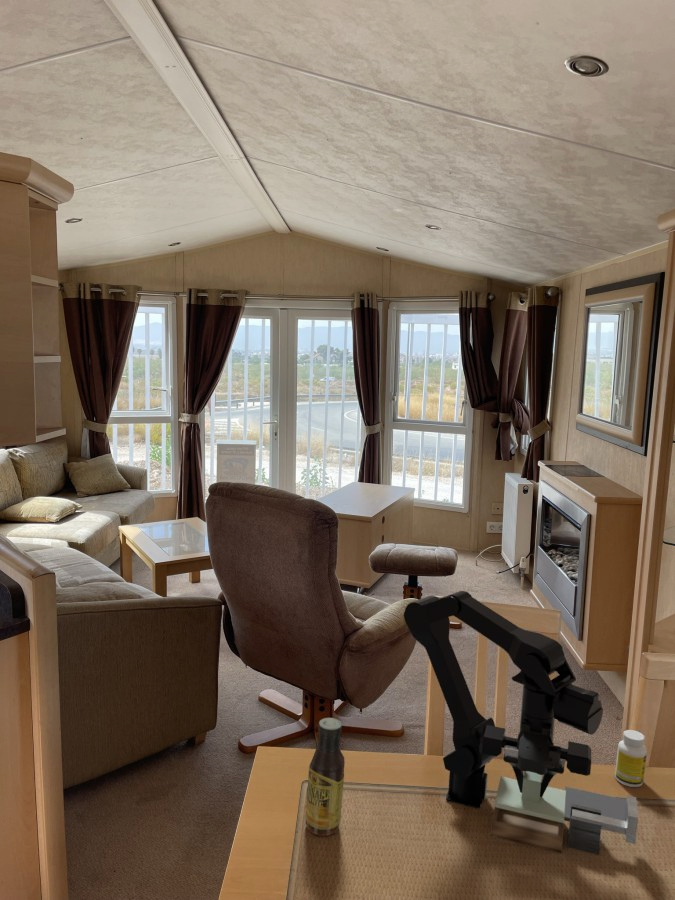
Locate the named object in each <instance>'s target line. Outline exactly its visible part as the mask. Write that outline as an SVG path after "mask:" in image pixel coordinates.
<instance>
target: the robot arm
mask: <svg viewBox="0 0 675 900" xmlns="http://www.w3.org/2000/svg"><path fill="white" fill-rule="evenodd" d="M450 617H455V618H456V619H458V620H460V621H461V622H463V623H464V624H465V625H467V626H468V627H470V628H471V629H473V630H475V631H476V632H477V633H479V634H480V635H482V636H483V637H484V638H486V639H488V640H489V641H490V642H492V643H493V644H495V645H496V646H498V648H501V649H503V651H505V652H506V653H507V654H508V655H509V658H510V659H511V661H512V663H513V664H514V665H515V666H516V667H517V668H518V670H520V671H519V672H518V673H517V674H515V675H513V676H512V677H511V681H513V682H515V683H518V684H521V685H522V698H521V699H522V700H521V708H520V721H519V731H518V735H517V738H514V737H510V736H506V728H504V727H499V726H496V724H495V720H494V719H493V718H492V717H489V718H485V717H484V716H483V715H482V714H481V713H480V712H479V711H478V709H477V706H476V704H475V701H474V698H473V696H472V694H471V691H470V689H469V687H468V684H467V681H466V678H465V677H464V673H463V671H462V668H461V666H460V664H459V661H458V658H457V656H456V653H455V652H454V648H453V646H452V643H451V640H450V627H451V626H450V624H451V622H450ZM403 620H404V623H405V624H406V626H407V629H408V630H409V632H410V634H411V636H412V638H413V639H415V640H416V641H417V642H418V643H420V645H421V646H422V647H423V648H424V649H425V651H426V654H427V656H428V659H429V661H430V664H431V667H432V669H433V672H434V675H435V677H436V679H437V683H438V685H439V687H440V690H441V692H442V695H443V698H444V700H445V703H446V705H447V708H448V711H449V713H450V715H451V718H452V722H453V726H452V738H451V739H452V743H453V747H454V750H453V751H451V752H450V753H449V754H446V755H445V756H444V757H442V761H443V765H444V769H445V770H446V771H449V775H448V776H449V777H448V788H447V789H448V791H447V793H446V797H445V800H446V801H448V802H451V803H453V804H454V803H456V804H459V805H464V806H467V807H472V808H475V809H480V808H481V807H482V803H483V802H484V801H485V799H486V797H487V788H488V778H489V777H488V775H489V774H488V773H487V772H486V765H487V764H488V763H490V762H491V761H492V760H493V759H495V758H497V757H498V756H500V755H501V754H502V752H503V751H504V753H503V758H502V759H503V762H505V763H508V764H509V765H510V766H511V767H512V770H513V772H514V774H515V775H514V776H515V778H516V779H515V780H517V783H518V786H519V790H520V793H522V788H523V777H524V771H529V772H533V773H537V774H539V775H542V779H541V789H540V797H542V796H543V794H544V792H545V790H546V788H547V787H549V784H550V783H551V781H552V780H553V778H554V776H555V775H557V774H560V775H563V774H564V772H565V764H566V769H568V771H569V772H570V773H572V774H575V775H576V774H577V775H581V776H586V777H587V776H591V771H592V770H591V769H592V748H591V747H590V745H589V744H586V743H585V744H583V743H580V742H574V741H568V742H567V748H566V746H562V745H559V744H554V733H555V732H554V730H555V722H556V721H555V720H557V722H559V723H561V724H564V725H565V726H569V727H571V728H573V729H576V730H578V731H580V732H583V733H586V734H588V735H591V736H592V735H594V734H596V732H597V730H599V728H600V725H601V722H602V718H603V713H604V708H603V705H602V702H601V700H600V699H599V693H598V692H596V691H595V690H591V689H585V688H583V687H579V686H578V685H575V684H573V683H575V682H576V681H577V679H576V676H575V674H574V672H573V670H572V668H571V667H570V664H569V663H568V661H567V659H566V657H565V653H564V650H563V649H564V648H563V646H562V645H561V643H559V642H558V641H557V640H556V639H554V638H551V637H549V636H546V635H544V634H541V633H539V632H537V631H532V630H526V629H523V628H521V627H519V626H517V625H516V624H515V623H513V622H512V621H510V620H508V619H507V618H506V617H504V616H502V615H501V614H499V613H498V612H496V611H495V610H493V609H491V608H490V607H488V606H487V605H485V604H484V603H482V602H480V601H479V600H477V599H476V598H475V597H472V594H471V593H469V592H468V591H465V590H459V591H456V592H454V593H451V594H448V595H446V596H443V597H440V598H439V597H438V596H436V595H428V596H425V597H423V598H420V599H418V600H415V601H412V602H410V603H408V604H407V605H406V607H405V609H404V612H403ZM555 672H556V673H557V674H558V675H557V676H555V677H554V678H552V679H551V677H550V676H551V675H552V674H554V673H555Z"/></svg>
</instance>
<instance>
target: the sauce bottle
mask: <svg viewBox="0 0 675 900" xmlns="http://www.w3.org/2000/svg"><path fill="white" fill-rule="evenodd" d="M317 731H318V742H317V746H316V748H315V751H314V754H313V756H312V759H311V761H310V763H309V765H308V766H309V767H308V778H307V789H306V790H307V791H306V805H305V815H304V816H305V825H306V829H307V830H308V831H309V832H310V833H311V834H313V835H316V836H319V837H320V836H321V837H327V836H331V835H333V834H335V833H337V831H339V827H340V824H341V818H342V807H343V806H342V805H343V795H344V794H343V792H344V782H345V781H344V780H345V763H346V762H345V761H346V760H345V755H344V754H343V752H342V751H341V743H340V741H341V734H342V731H343V724H342V722H341V721H340V720H339V719H336V718H334V717H324V718H322V719H320V720H319V721H318V728H317Z"/></svg>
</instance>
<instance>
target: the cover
mask: <svg viewBox="0 0 675 900" xmlns="http://www.w3.org/2000/svg"><path fill="white" fill-rule="evenodd" d="M542 777H543V775H539V774H537V773H533V772H529V771H524V777H523V788H522V793H520V790H519V786H518V783H517V779H515V778H510V777H505V776H500V778H499V782H498V787H497V793H496V795H495V801H494V808H495V807H497V808H501V809H505V810H510V811H514V812H518V813H523V814H527V815H531V816H535V817H540V818H544V819H548V820H552V821H557V822H561V823H564V824H565V819H564V813H565V796H566V791H565V789H561V788H556V787H552V786H547V788H546V790H545V792H544V794H543V796H542V797H540V789H541V782H542Z"/></svg>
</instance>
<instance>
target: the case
mask: <svg viewBox="0 0 675 900" xmlns="http://www.w3.org/2000/svg"><path fill="white" fill-rule="evenodd" d="M490 824H491V825H490V826H491V827H490V837H494V838H498V839H502V840H506V841H509V842H510V841H511V842H514V843H518V844H523V845H525V846H531V847H534V848H538V849H542V850H547V851H551V852H555V853H557V854H562V851H563V841H564V825H565V822H564V823H561V822H557V821H552V820H548V819H544V818H540V817H535V816H531V815H527V814H523V813H518V812H514V811H510V810H505V809H501V808H497V807H495V806H494V809H493V814H492V818H491V823H490Z"/></svg>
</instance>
